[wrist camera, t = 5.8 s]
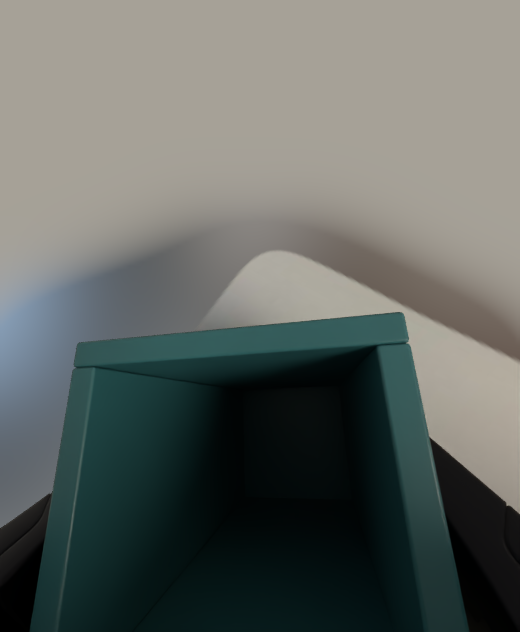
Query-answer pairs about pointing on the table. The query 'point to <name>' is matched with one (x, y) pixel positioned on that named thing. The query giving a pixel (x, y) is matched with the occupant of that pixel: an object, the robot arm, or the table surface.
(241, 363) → the bin
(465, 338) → the table surface
